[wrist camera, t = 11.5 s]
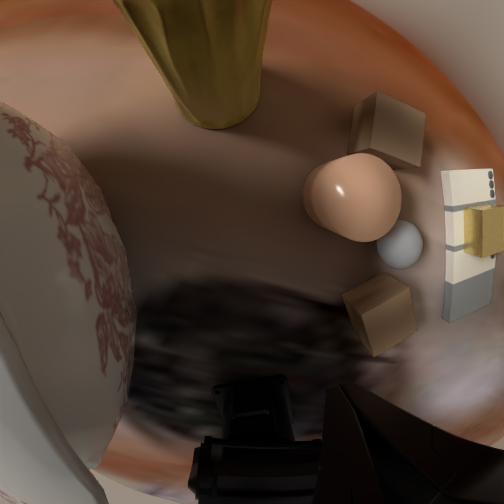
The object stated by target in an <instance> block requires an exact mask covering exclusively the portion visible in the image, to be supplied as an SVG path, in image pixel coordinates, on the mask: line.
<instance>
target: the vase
mask: <svg viewBox="0 0 504 504" xmlns="http://www.w3.org/2000/svg"><path fill="white" fill-rule="evenodd" d="M113 2H114V3H115V4H116V6H117V7H118V9H119V10H120V11H121V13H122V14H123V16H124V17H125V19H126V20H127V22H128V23H129V25H130V27H131V28H132V30H133V32H134V33H135V35H136V37H137V38H138V40H139V41H140V43H141V45H142V46H143V48H144V49H145V51H146V53H147V54H148V56H149V58H150V59H151V61H152V62H153V64H154V65H155V67H156V68H157V70H158V71H159V73H160V74H161V76H162V78H163V80H164V82H165V83H166V85H167V87H168V88H169V90H170V91H171V93H172V95H173V97H174V99H175V104H176V106H177V108H178V110H179V112H180V113H181V115H182V116H183V117H184V118H185V119H187V120H188V121H189V122H191V123H193V124H195V125H197V126H199V127H203V128H209V129H222V128H226V127H229V126H232V125H234V124H237V123H239V122H241V121H242V120H244V119H245V118H246V117H248V116H249V115H250V114H251V113H252V111H253V110H254V109H255V107H256V106H257V104H258V101H259V98H260V92H261V85H260V77H261V67H262V56H263V49H264V44H265V39H266V34H267V25H268V19H269V15H270V10H271V4H272V0H113Z"/></svg>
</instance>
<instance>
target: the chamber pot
mask: <svg viewBox="0 0 504 504" xmlns="http://www.w3.org/2000/svg"><path fill="white" fill-rule="evenodd" d="M136 320H137V310H136V305H135V300H134V295H133V290H132V285H131V280H130V274H129V268H128V262H127V255H126V250H125V248H124V245H123V243H122V241H121V238H120V236H119V234H118V231H117V229H116V227H115V224H114V222H113V219H112V217H111V214H110V212H109V209H108V206H107V204H106V201H105V199H104V196H103V193H102V190H101V189H100V187H99V186H98V185H97V183H96V182H95V181H94V179H93V178H92V177H91V175H90V174H89V173H88V171H87V170H86V168H85V167H84V166H83V164H82V163H81V162H80V160H79V159H78V157H77V156H76V155H75V153H74V152H73V150H72V149H71V147H70V146H69V145H68V144H66V143H65V142H63V141H62V140H61V139H59V138H58V137H56V136H55V135H53V134H52V133H51V132H49V131H48V130H46V129H45V128H43V127H42V126H41V125H39V124H38V123H36V122H35V121H33V120H31V119H30V118H28V117H26V116H25V115H23V114H21V113H20V112H18V111H17V110H15V109H13V108H12V107H10V106H8V105H7V104H5V103H3V102H0V504H109V503H108V500H107V498H106V495H105V492H104V489H103V488H102V486H101V485H100V484H99V482H98V481H97V480H96V478H95V477H94V475H93V474H92V473H91V472H90V470H89V469H91V468H93V467H95V466H97V465H99V463H100V461H101V459H102V457H103V455H104V453H105V451H106V449H107V447H108V445H109V443H110V441H111V439H112V437H113V435H114V433H115V430H116V428H117V426H118V423H119V421H120V419H121V417H122V414H123V412H124V410H125V408H126V405H127V399H128V393H129V386H130V380H131V374H132V369H133V363H134V347H135V332H136Z"/></svg>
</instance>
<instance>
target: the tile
mask: <svg viewBox="0 0 504 504" xmlns="http://www.w3.org/2000/svg"><path fill="white" fill-rule="evenodd" d="M463 214H464V252H466V253H469V254H472V255H474V256H477V257H480V258H484V257H487V256H490V255H492V254H495V253H498V252H501V251H503V250H504V206H503V205H496V204H488V203H487V204H481V205H475V206H468V207H463Z"/></svg>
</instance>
